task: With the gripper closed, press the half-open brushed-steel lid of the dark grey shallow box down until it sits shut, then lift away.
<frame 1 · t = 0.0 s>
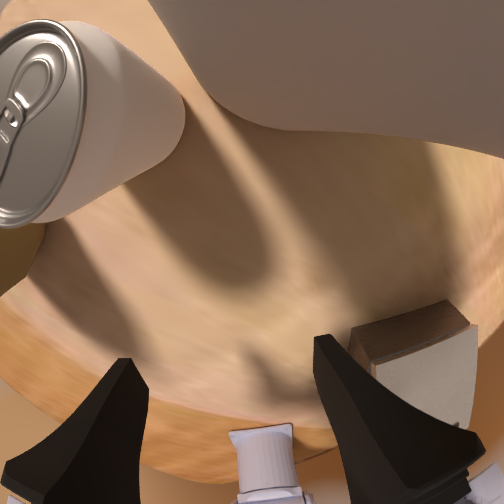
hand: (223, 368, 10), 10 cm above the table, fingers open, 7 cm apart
lid: (430, 402, 18), point 8 cm above the table, hinge at 32.0°
can: (138, 121, 15), on the table
squeeze bottle: (23, 216, 16), on the table
cylinder vase: (287, 41, 13), on the table
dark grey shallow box: (394, 355, 26), on the table
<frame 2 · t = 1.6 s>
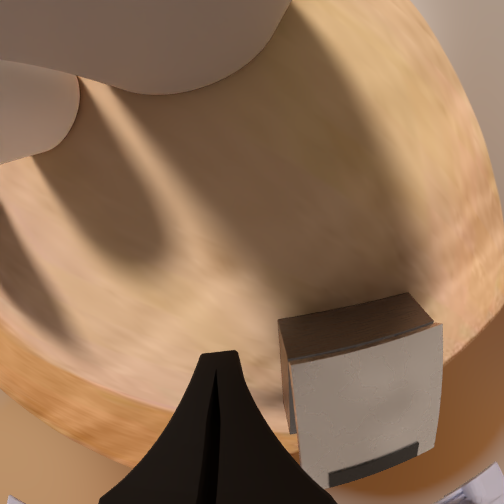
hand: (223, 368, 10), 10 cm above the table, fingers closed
lid: (376, 417, 16), point 8 cm above the table, hinge at 32.0°
can: (48, 107, 13), on the table
cylinder vase: (177, 11, 11), on the table
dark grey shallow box: (342, 355, 24), on the table
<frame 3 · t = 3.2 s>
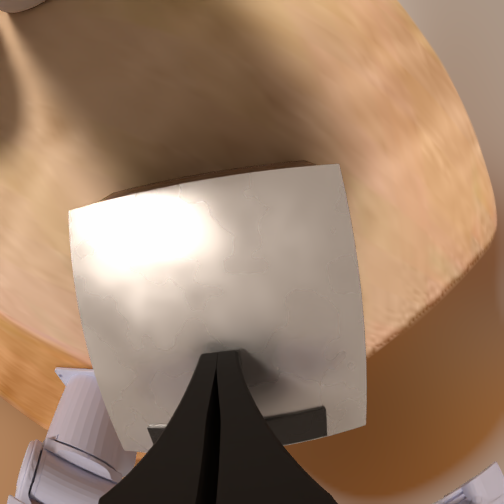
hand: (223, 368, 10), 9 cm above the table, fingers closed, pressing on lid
lid: (215, 332, 11), point 8 cm above the table, hinge at 26.6°, touching gripper
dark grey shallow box: (220, 264, 18), on the table
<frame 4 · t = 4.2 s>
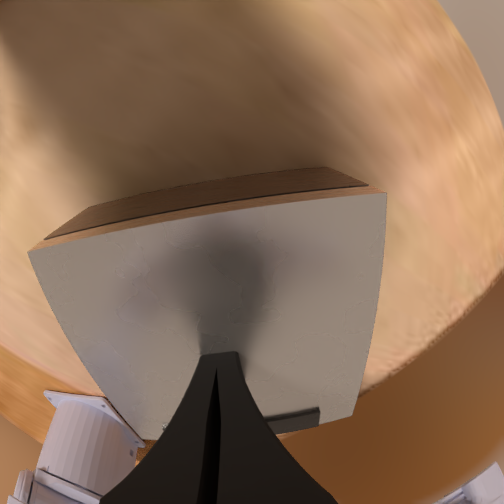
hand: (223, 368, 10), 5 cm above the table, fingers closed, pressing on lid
lid: (221, 363, 10), point 5 cm above the table, hinge at 0.5°, touching gripper
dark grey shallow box: (221, 292, 15), on the table
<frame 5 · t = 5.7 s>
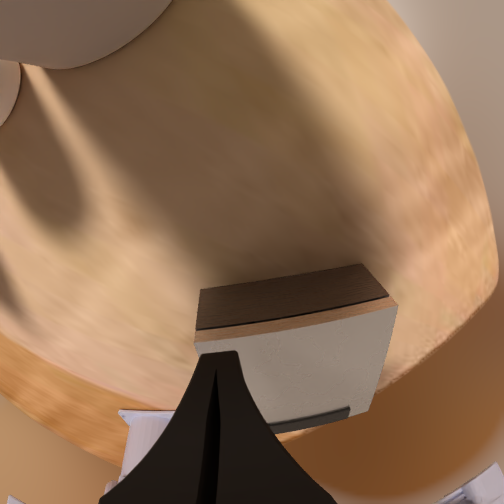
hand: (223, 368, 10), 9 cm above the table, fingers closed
lid: (302, 386, 17), point 5 cm above the table, hinge at 0.5°
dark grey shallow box: (288, 338, 22), on the table
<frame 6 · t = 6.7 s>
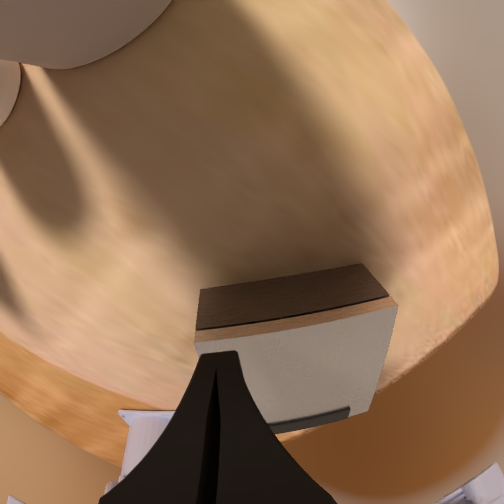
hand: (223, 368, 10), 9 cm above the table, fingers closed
lid: (302, 386, 17), point 5 cm above the table, hinge at 0.5°
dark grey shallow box: (288, 338, 22), on the table
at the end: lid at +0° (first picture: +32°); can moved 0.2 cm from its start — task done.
